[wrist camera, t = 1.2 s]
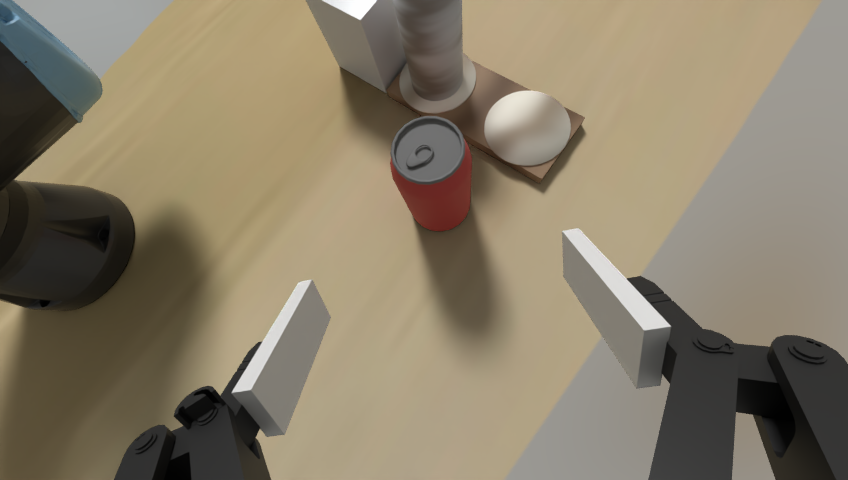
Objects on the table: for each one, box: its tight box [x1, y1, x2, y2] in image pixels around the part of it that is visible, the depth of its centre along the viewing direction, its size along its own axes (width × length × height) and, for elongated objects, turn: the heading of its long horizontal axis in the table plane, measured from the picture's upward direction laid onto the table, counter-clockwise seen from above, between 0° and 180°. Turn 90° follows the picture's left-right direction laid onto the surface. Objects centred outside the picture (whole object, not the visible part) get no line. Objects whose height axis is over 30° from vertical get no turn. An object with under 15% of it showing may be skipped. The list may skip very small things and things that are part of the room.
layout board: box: [386, 0, 585, 183], centre depth 30 cm, size 21×9×13 cm, turn 53°
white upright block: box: [306, 0, 407, 93], centre depth 35 cm, size 8×8×10 cm
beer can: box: [390, 116, 472, 231], centre depth 29 cm, size 7×7×12 cm
